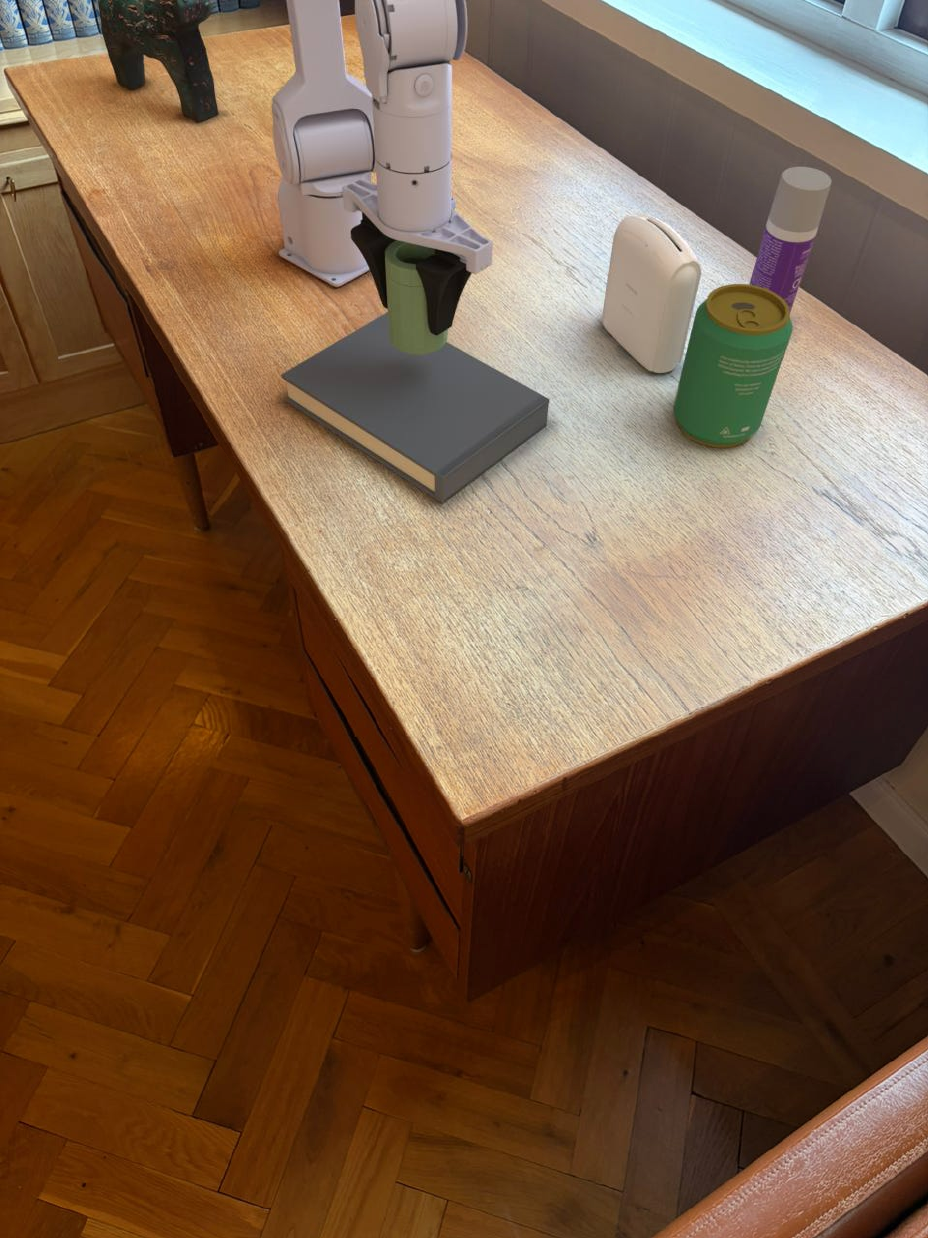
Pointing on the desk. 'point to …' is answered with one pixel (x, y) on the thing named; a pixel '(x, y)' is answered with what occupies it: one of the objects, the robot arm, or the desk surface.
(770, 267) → the container
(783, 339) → the beverage can
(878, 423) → the desk surface
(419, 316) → the jar
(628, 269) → the photo printer
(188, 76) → the ceramic cat
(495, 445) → the book
